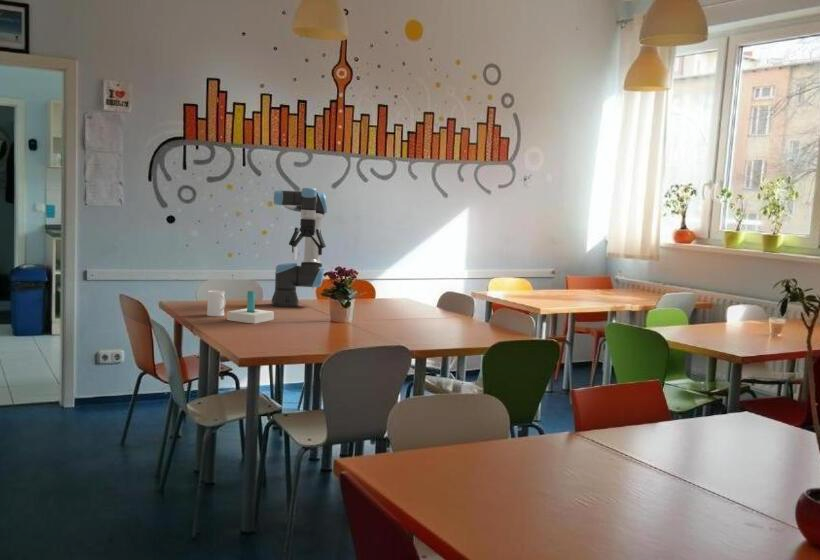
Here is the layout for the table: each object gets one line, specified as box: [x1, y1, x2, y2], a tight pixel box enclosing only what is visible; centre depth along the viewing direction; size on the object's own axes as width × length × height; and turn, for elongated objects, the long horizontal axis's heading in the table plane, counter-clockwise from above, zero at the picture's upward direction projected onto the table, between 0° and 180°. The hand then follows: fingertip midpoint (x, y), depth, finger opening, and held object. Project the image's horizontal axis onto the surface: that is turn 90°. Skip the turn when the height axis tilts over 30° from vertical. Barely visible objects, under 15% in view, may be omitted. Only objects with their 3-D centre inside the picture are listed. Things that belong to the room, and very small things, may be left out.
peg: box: [246, 290, 256, 313], centre depth 394 cm, size 4×4×14 cm
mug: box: [206, 289, 227, 317], centre depth 403 cm, size 12×8×12 cm
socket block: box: [226, 307, 275, 324], centre depth 395 cm, size 16×16×4 cm
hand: (306, 260), depth 411 cm, fingers open, 13 cm apart
